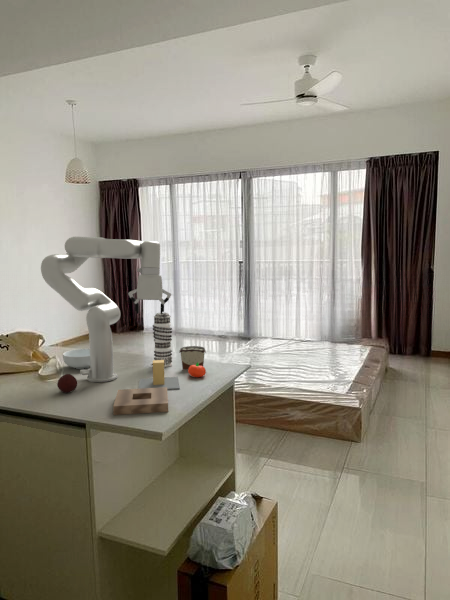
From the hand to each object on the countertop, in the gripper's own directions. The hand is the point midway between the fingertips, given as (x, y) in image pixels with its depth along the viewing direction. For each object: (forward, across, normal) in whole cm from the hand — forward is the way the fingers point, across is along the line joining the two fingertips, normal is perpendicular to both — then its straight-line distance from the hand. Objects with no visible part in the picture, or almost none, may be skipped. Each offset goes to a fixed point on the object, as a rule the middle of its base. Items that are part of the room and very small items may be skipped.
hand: (149, 313), depth 180 cm
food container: (+28, +20, +18) cm, 39 cm away
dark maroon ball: (+30, -30, -10) cm, 44 cm away
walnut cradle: (+28, -1, -29) cm, 40 cm away
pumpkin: (+28, +20, +4) cm, 35 cm away
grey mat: (+28, +5, -6) cm, 29 cm away
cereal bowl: (+31, -32, +28) cm, 53 cm away
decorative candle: (+29, +6, +27) cm, 40 cm away
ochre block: (+28, +4, -5) cm, 29 cm away
